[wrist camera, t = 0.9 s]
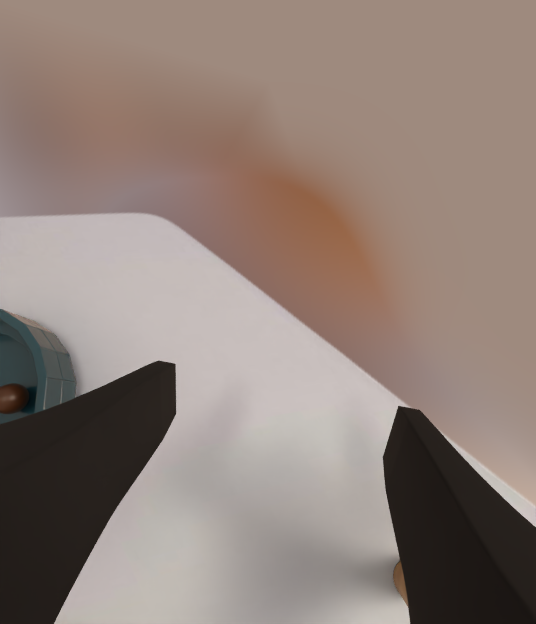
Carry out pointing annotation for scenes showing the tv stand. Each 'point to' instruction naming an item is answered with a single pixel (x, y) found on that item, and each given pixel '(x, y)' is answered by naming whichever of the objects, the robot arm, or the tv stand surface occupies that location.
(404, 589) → the stirring stick
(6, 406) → the hazelnut
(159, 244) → the tv stand surface
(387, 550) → the tv stand surface
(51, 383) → the bowl
